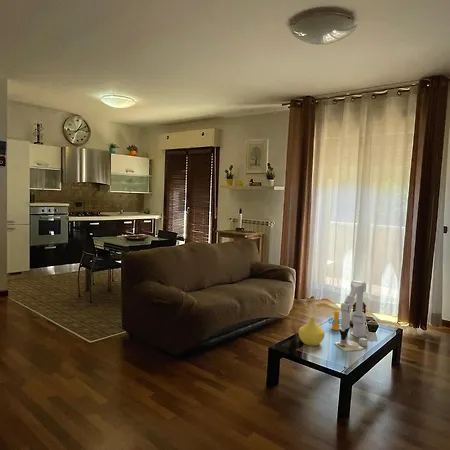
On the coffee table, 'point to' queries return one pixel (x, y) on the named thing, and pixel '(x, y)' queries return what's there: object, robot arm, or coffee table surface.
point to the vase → (311, 333)
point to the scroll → (355, 310)
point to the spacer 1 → (344, 340)
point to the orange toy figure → (335, 320)
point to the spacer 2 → (363, 342)
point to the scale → (349, 346)
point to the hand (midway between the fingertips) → (344, 338)
